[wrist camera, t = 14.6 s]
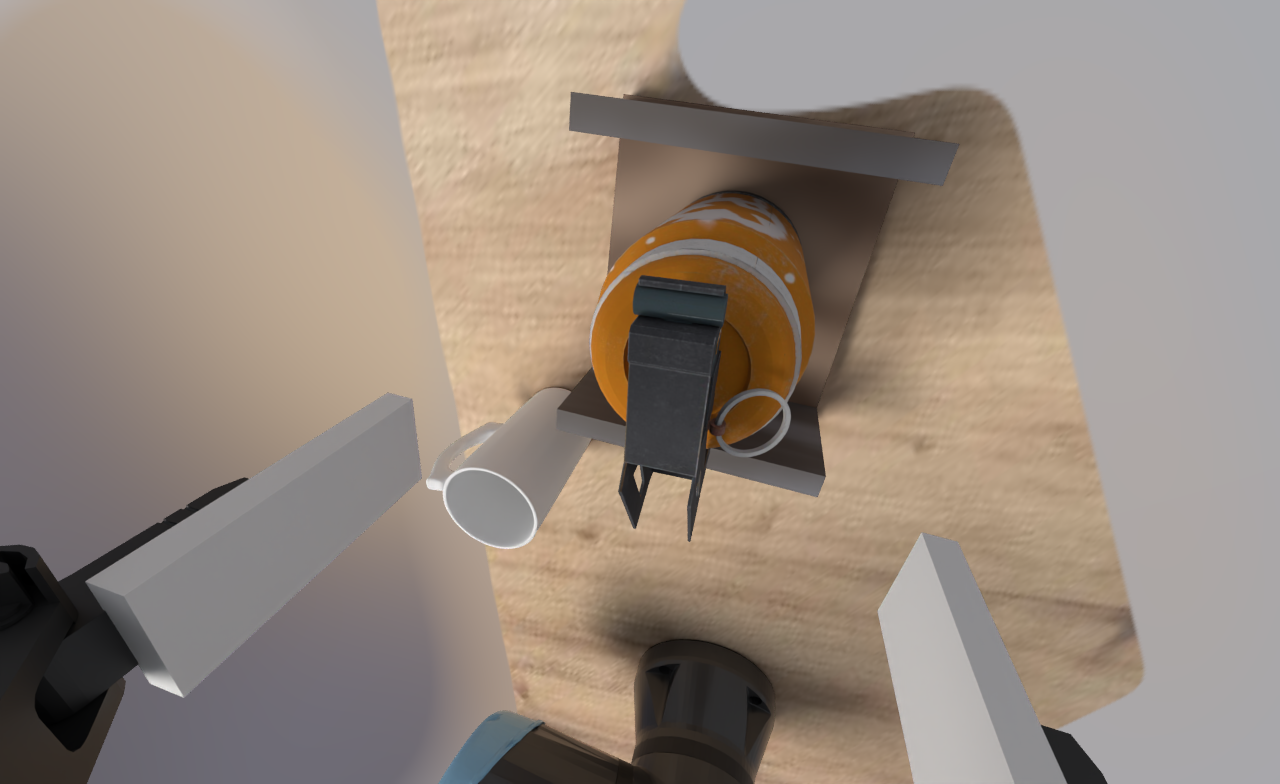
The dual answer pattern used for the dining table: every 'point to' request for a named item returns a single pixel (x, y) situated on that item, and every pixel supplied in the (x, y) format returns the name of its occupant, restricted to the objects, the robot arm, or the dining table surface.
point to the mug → (509, 473)
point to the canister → (702, 337)
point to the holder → (795, 182)
